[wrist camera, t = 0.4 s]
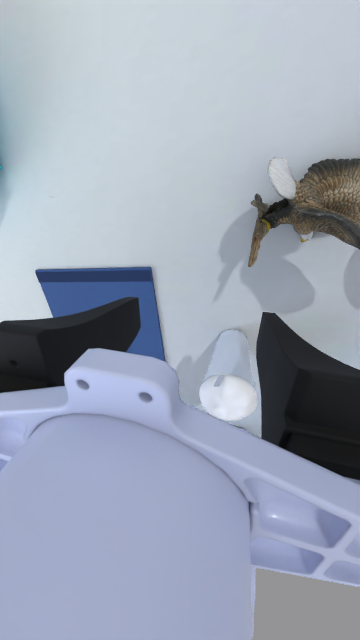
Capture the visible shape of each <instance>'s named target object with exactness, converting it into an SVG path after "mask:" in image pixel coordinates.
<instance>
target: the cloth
mask: <svg viewBox="0 0 360 640" xmlns="http://www.w3.org/2000/svg"><path fill="white" fill-rule="evenodd" d="M35 271H36V272H35V273H36V275H37V278H38V280H39V282H40V284H41V287H42V289H43V292H44V294H45V297H46V300H47V302H48V305H49V307H50V310H51V312H52V315H53V318H55V317H60V316H66V315H71V314H76V313H80V312H84V311H87V310H90V309H93V308H96V307H99V306H102V305H105V304H108V303H110V302H113V301H116V300H119V299H122V298H125V297H138V298H139V309H140V321H141V328H140V330H139V332H138V334H137V336H136V338H135V340H134V341H133V343H132V344H131V346H130V347H129V348H128V350H127V351H126V353H131V354H137V355H143V356H149V357H154V358H157V359H159V360H162V361H165V356H164V350H163V343H162V336H161V330H160V323H159V317H158V310H157V303H156V297H155V290H154V284H153V277H152V271H151V267H133V268H90V269H47V270H35Z"/></svg>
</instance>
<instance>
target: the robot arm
mask: <svg viewBox="0 0 360 640" xmlns="http://www.w3.org/2000/svg"><path fill="white" fill-rule="evenodd" d="M140 328H141V321H140V309H139V298H138V297H125V298H122V299H119V300H116V301H113V302H110V303H108V304H105V305H102V306H99V307H96V308H93V309H90V310H87V311H84V312H80V313H76V314H71V315H66V316H60V317H55V318H47V319H37V320H15V321H3V322H1V323H0V640H252V637H253V631H254V604H255V567H256V568H262V569H267V570H272V571H277V572H283V573H288V574H294V575H299V576H304V577H310V578H315V579H320V580H326V581H331V582H336V583H342V584H347V585H352V586H357V587H360V370H358V369H356V368H353V367H351V366H349V365H346V364H344V363H342V362H340V361H338V360H336V359H334V358H332V357H330V356H328V355H326V354H325V353H323V352H321V351H319V350H318V349H316V348H315V347H313V346H312V345H310V344H309V343H307V342H306V341H305V340H303V339H302V338H301V337H300V336H298V335H297V334H296V333H295V332H294V331H293V330H292V329H291V328H289V327H288V326H287V325H286V324H285V323H284V322H283V321H282V320H281V319H280V318H279V317H278V316H277V315H276V314H275V313H269V312H263V314H262V319H261V324H260V329H259V334H258V338H257V345H256V359H257V367H258V374H259V381H260V388H261V407H262V439H261V438H259V437H257V436H255V435H252V434H250V433H248V432H246V431H245V430H244V429H241V428H237V427H235V426H233V425H231V424H229V423H227V422H225V421H222V420H220V419H218V418H216V417H214V416H212V415H210V414H207V413H205V412H203V411H201V410H199V409H197V408H195V407H192V406H190V405H188V404H186V403H184V402H183V401H182V400H181V399H180V395H179V380H178V377H177V373H176V371H175V370H174V369H173V368H172V367H171V366H170V365H169V364H168V363H167V362H165V361H162V360H159V359H157V358H154V357H149V356H143V355H137V354H131V353H126V351H127V350H128V348H129V347H130V346H131V344H132V343H133V341H134V340H135V338H136V336H137V334H138V332H139V330H140Z"/></svg>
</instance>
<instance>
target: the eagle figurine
mask: <svg viewBox="0 0 360 640" xmlns="http://www.w3.org/2000/svg"><path fill="white" fill-rule="evenodd" d="M268 174H269V178H270V180H271V184H272V186H273V188H274V189H275V190H276V192H277V193H278V194H279V195H280V196H281V197H283V198H285V199H283V200H281V201H279V202H275V203H274V204H273V205H270V206H269V208H268V204H264V203H262V198H261V197H260V195H259V194H256V195H255V200H253V201H252V202H251V204H252V205H253V206H255V207H257V208H258V217H257V221H256V226H255V230H254V233H253V238H252V245H251V252H250V257H249V264H248V266H249V267H251V266H253V265H254V263H255V261H256V259H257V254H258V250H259V248H260V242H261V240H262V239H263V237H264V236H265V235H266V234H267V233H268V231H269V230H270V229H272V228H276V227H277V226H278V225H280V224H286V223H288V224H293V227H294V229H295V230H296V232H297V233H298V234H299V235H300V236H301V237H302V240H301V242H305V241H307V240H308V241H309V240H310V239H311V238H312V235H313V231H320V232H325V233H328V234H331V235H333V236H335V237H337V238H338V239H340V240H342V241H343V242H345V243H347V244H349V245H352V246H354V247H357V248H359V249H360V159H352V160H349V159H345V160H344V159H339V160H335V159H326V160H324V161H320V162H319V163H315V164H313V165H312V167H310V168H308V173H306V174H305V175H304V178H303V179H301V180H300V182H297V181H296V180H295V179H294V177H293V175H292V173H291V170H290V167H289V164H288V162H287V161H286V160H285V159H283V158H275V157H274V158H273V159H272V160H271V161H270V162H269V166H268Z"/></svg>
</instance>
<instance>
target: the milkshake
mask: <svg viewBox="0 0 360 640" xmlns="http://www.w3.org/2000/svg"><path fill="white" fill-rule="evenodd" d="M199 396H200V400H201V403H202V405H203V407H204V408H205V410H206V411H207V412H208V413H210V414H211V415H213V416H214V417H217V418H219V419H221V420H232V421H236V420H240V419H242V418H244V417H246V416H248V415H250V414H252V413H253V412H254V411H255V409H256V407H257V393H256V388H255V382H254V377H253V373H252V369H251V361H250V354H249V347H248V341H247V336H245V335H244V334H243V333H242V332H241V331H239V330H232V329H229V330H226V331H224V332H222V333H221V334H220V336H219V338H218V339H217V342H216V345H215V348H214V351H213V354H212V357H211V360H210V363H209V366H208V369H207V371H206V374H205V376H204V379H203V382H202V384H201V387H200V390H199Z"/></svg>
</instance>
